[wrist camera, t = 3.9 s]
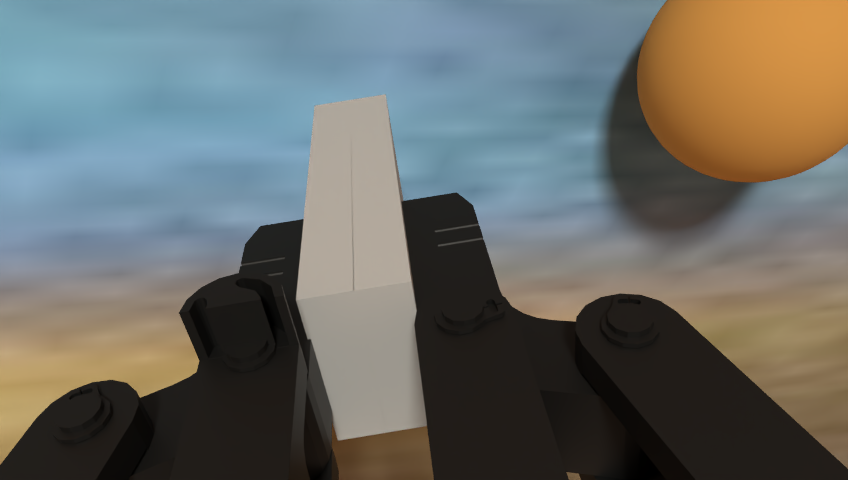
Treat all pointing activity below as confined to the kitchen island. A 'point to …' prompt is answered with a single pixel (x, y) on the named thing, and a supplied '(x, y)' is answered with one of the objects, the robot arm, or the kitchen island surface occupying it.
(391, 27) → the kitchen island surface
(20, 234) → the kitchen island surface
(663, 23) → the ball
